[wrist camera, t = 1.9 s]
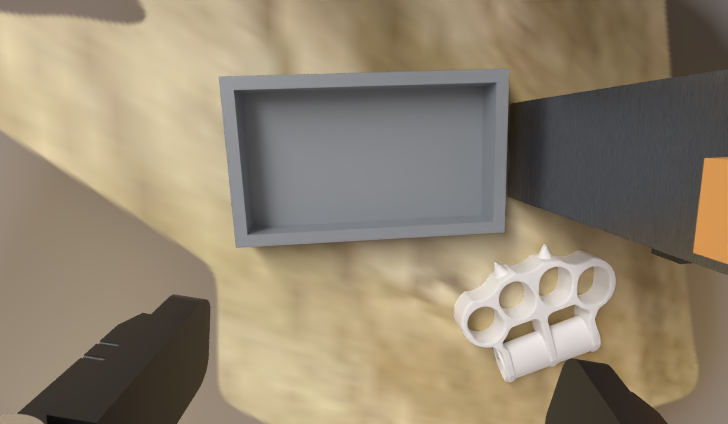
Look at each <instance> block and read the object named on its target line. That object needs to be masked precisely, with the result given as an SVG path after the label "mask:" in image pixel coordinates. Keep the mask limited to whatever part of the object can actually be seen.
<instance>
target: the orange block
mask: <svg viewBox="0 0 728 424" xmlns="http://www.w3.org/2000/svg"><path fill="white" fill-rule="evenodd" d="M693 253H695V254H699V255H702V256H705V257H708V258H711V259H714V260H717V261H720V262H723V263H726V264H728V157H717V158H704V166H703V174H702V182H701V191H700V199H699V207H698V216H697V224H696V232H695V240H694V249H693Z"/></svg>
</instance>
